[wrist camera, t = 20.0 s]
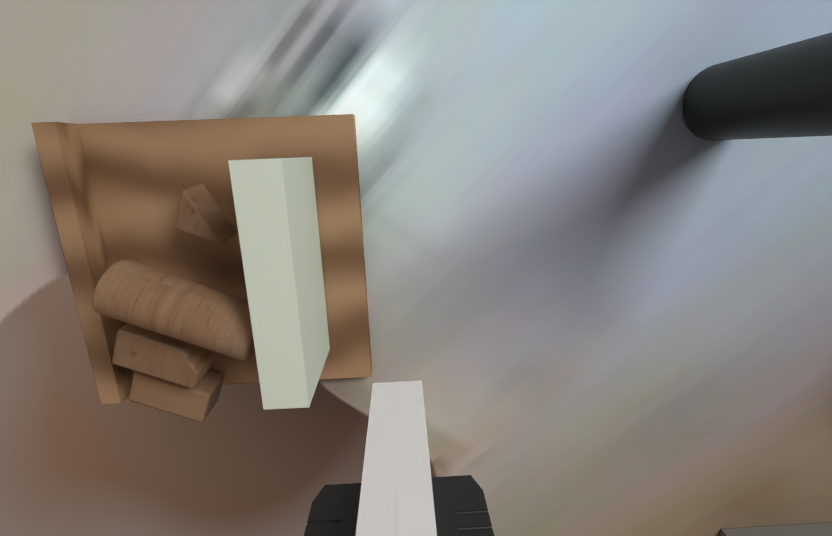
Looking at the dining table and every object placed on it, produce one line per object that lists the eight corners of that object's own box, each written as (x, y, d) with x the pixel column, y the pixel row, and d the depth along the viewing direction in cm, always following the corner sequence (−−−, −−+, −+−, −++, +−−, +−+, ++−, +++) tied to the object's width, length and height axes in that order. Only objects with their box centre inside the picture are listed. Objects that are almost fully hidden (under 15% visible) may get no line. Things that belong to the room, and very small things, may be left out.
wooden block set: (142, 361, 40) (253, 396, 41) (71, 428, 32) (212, 469, 33) (179, 174, 33) (308, 222, 35) (103, 198, 25) (275, 260, 27)
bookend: (272, 158, 34) (228, 160, 25) (311, 157, 34) (281, 158, 25) (294, 350, 38) (263, 409, 29) (329, 348, 38) (309, 407, 29)
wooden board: (68, 125, 34) (31, 122, 30) (354, 115, 34) (349, 111, 31) (126, 382, 39) (101, 404, 36) (371, 370, 40) (369, 390, 37)
